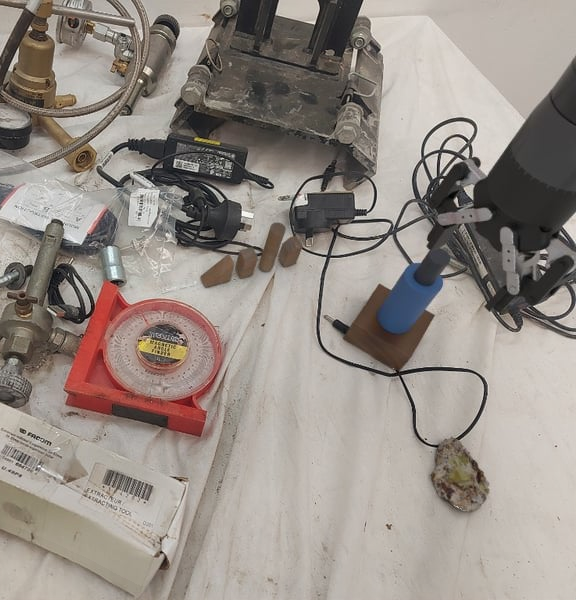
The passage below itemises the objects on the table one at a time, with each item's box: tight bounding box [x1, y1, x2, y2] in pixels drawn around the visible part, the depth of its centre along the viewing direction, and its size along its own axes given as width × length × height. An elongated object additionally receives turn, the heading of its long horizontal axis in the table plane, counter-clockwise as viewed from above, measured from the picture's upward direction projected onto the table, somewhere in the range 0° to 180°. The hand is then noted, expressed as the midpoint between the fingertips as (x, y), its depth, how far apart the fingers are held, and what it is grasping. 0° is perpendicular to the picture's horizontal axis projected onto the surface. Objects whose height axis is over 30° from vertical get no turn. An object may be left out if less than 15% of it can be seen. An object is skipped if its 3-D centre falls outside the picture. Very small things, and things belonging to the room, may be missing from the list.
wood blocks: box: [161, 221, 304, 294], centre depth 96 cm, size 25×3×10 cm, turn 111°
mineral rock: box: [430, 436, 491, 513], centre depth 82 cm, size 11×4×8 cm
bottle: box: [377, 247, 451, 334], centre depth 85 cm, size 6×6×16 cm
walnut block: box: [343, 283, 436, 372], centre depth 94 cm, size 10×10×5 cm
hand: (462, 276), depth 60 cm, fingers open, 8 cm apart
